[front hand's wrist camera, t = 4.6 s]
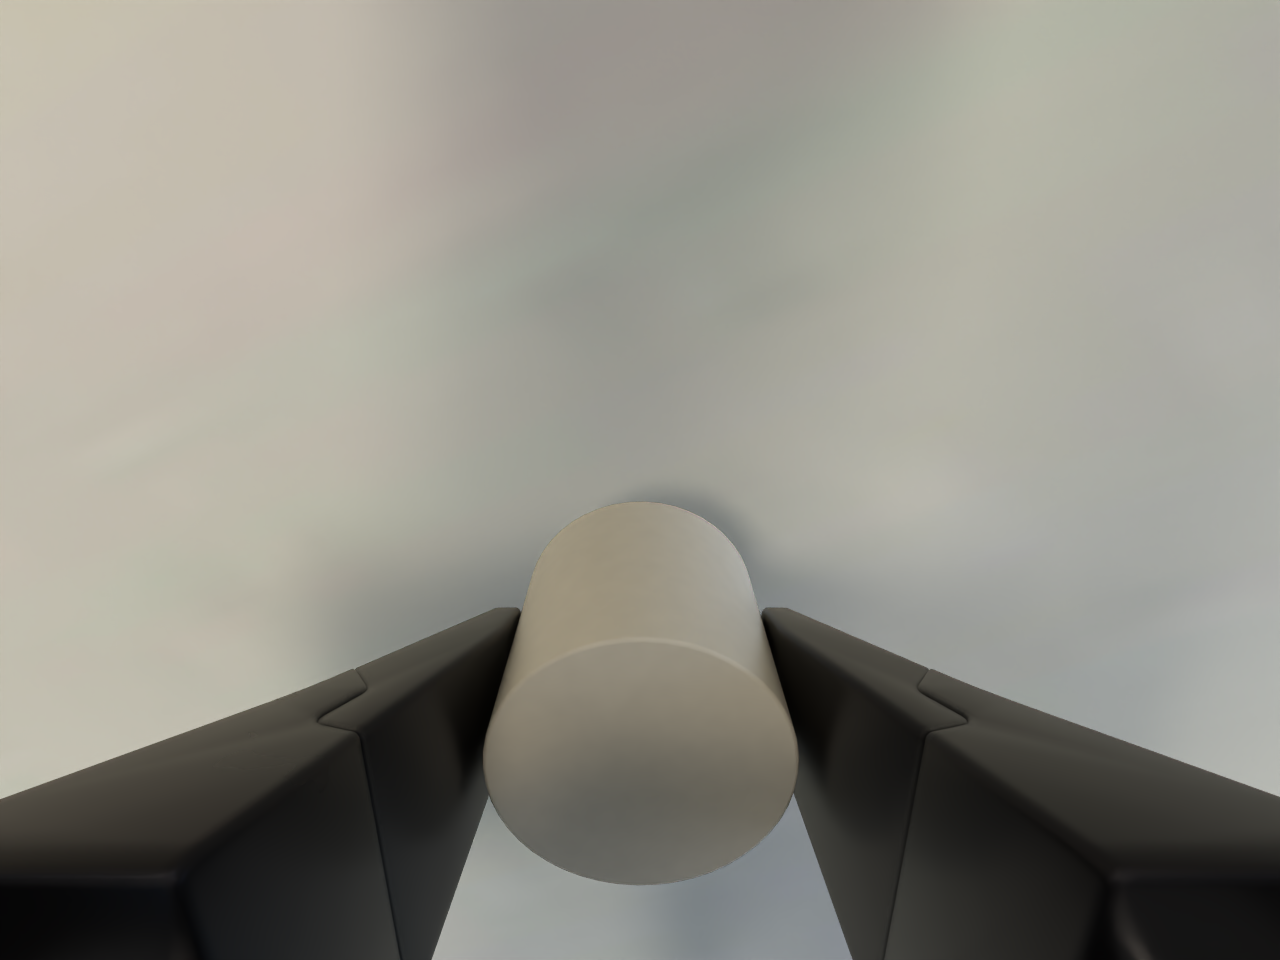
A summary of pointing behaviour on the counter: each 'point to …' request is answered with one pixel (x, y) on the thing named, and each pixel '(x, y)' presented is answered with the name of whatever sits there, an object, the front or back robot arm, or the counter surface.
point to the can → (640, 703)
